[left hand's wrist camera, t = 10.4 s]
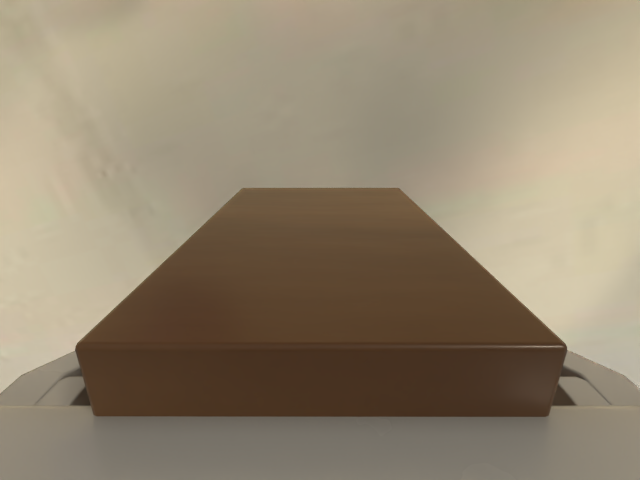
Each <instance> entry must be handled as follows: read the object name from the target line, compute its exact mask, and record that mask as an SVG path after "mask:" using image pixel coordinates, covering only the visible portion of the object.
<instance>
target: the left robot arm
mask: <svg viewBox="0 0 640 480" xmlns="http://www.w3.org/2000/svg"><path fill="white" fill-rule="evenodd" d="M0 480H640V389H639V388H638V387H637V386H636V385H635V384H633V383H632V382H631V381H630V380H629V379H628V378H626V377H625V376H624V375H622V374H620V373H617V372H615V371H613V370H611V369H608V368H606V367H604V366H602V365H600V364H597V363H595V362H593V361H591V360H588V359H586V358H584V357H582V356H580V355H577V354H575V353H573V352H571V351H569V350H567V354H566V357H565V361H564V364H563V368H562V371H561V375H560V378H559V382H558V385H557V388H556V392H555V395H554V399H553V402H552V406H551V409H550V413H549V416H546V417H196V416H95V415H93V411H92V408H91V404H90V401H89V397H88V394H87V390H86V387H85V383H84V380H83V376H82V373H81V369H80V366H79V362H78V359H77V355H76V352H75V351H74V352H71V353H69V354H67V355H65V356H63V357H60V358H58V359H56V360H54V361H52V362H49V363H47V364H45V365H43V366H41V367H38V368H36V369H34V370H32V371H30V372H27V373H25V374H23V375H21V376H20V377H19V378H18V379H17V380H15V381H14V382H13V383H12V384H11V385H10V386H9V387H7V388H6V389H5V390H4V391H3V392H2V393H1V394H0Z"/></svg>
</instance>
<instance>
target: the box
mask: <svg viewBox="0 0 640 480" xmlns="http://www.w3.org/2000/svg"><path fill="white" fill-rule="evenodd" d="M75 352H76V355H77V359H78V362H79V366H80V369H81V373H82V376H83V380H84V383H85V387H86V390H87V394H88V397H89V401H90V404H91V408H92V411H93V415H95V416H196V417H546V416H549V413H550V409H551V406H552V402H553V399H554V395H555V392H556V388H557V385H558V382H559V378H560V375H561V371H562V368H563V364H564V361H565V357H566V354H567V346H566V344H565V343H564V342H563V341H562V340H561V339H560V338H559V337H558V336H557V335H556V334H554V333H553V332H552V331H551V330H550V329H549V328H548V327H547V326H546V325H545V324H544V323H543V322H542V321H541V320H539V319H538V318H537V317H536V316H535V315H534V314H533V313H532V312H531V311H530V310H529V309H528V308H527V307H526V306H524V305H523V304H522V303H521V302H520V301H519V300H518V299H517V298H516V297H515V296H514V295H513V294H512V293H511V292H510V291H508V290H507V289H506V288H505V287H504V286H503V285H502V284H501V283H500V282H499V281H498V280H497V279H496V278H495V277H493V276H492V275H491V274H490V273H489V272H488V271H487V270H486V269H485V268H484V267H483V266H482V265H481V264H480V263H478V262H477V261H476V260H475V259H474V258H473V257H472V256H471V255H470V254H469V253H468V252H467V251H466V250H465V249H464V248H462V247H461V246H460V245H459V244H458V243H457V242H456V241H455V240H454V239H453V238H452V237H451V236H450V235H449V234H447V233H446V232H445V231H444V230H443V229H442V228H441V227H440V226H439V225H438V224H437V223H436V222H435V221H434V220H432V219H431V218H430V217H429V216H428V215H427V214H426V213H425V212H424V211H423V210H422V209H421V208H420V207H419V206H417V205H416V204H415V203H414V202H413V201H412V200H411V199H410V198H409V197H408V196H407V195H406V194H405V193H404V192H403V191H401V190H400V189H399V188H243V189H241V190H240V191H239V192H238V193H237V194H236V195H235V196H234V197H233V198H232V199H231V200H229V201H228V202H227V203H226V204H225V205H224V206H223V207H222V208H221V209H220V210H219V211H218V212H217V213H216V214H215V215H213V216H212V217H211V218H210V219H209V220H208V221H207V222H206V223H205V224H204V225H203V226H202V227H201V228H200V229H199V230H198V231H196V232H195V233H194V234H193V235H192V236H191V237H190V238H189V239H188V240H187V241H186V242H185V243H184V244H183V245H182V246H180V247H179V248H178V249H177V250H176V251H175V252H174V253H173V254H172V255H171V256H170V257H169V258H168V259H167V260H166V261H164V262H163V263H162V264H161V265H160V266H159V267H158V268H157V269H156V270H155V271H154V272H153V273H152V274H151V275H150V276H148V277H147V278H146V279H145V280H144V281H143V282H142V283H141V284H140V285H139V286H138V287H137V288H136V289H135V290H134V291H133V292H131V293H130V294H129V295H128V296H127V297H126V298H125V299H124V300H123V301H122V302H121V303H120V304H119V305H118V306H117V307H115V308H114V309H113V310H112V311H111V312H110V313H109V314H108V315H107V316H106V317H105V318H104V319H103V320H102V321H101V322H99V323H98V324H97V325H96V326H95V327H94V328H93V329H92V330H91V331H90V332H89V333H88V334H87V335H86V336H85V337H84V338H82V339H81V340H80V341H79V342H78V343H77V345H76V349H75Z"/></svg>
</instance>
